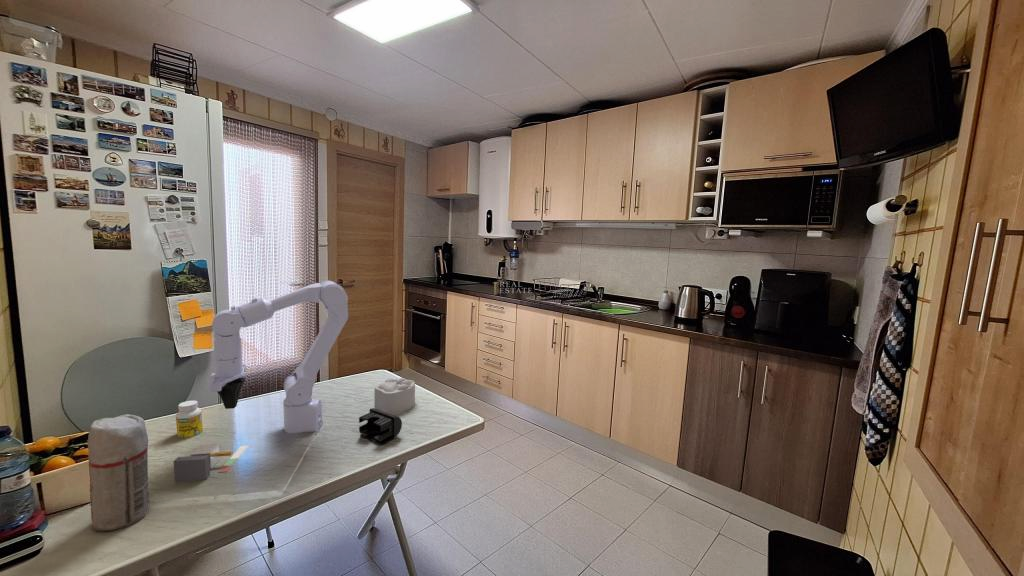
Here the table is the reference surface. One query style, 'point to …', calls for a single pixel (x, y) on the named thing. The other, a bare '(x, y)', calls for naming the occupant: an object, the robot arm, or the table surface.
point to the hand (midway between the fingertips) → (230, 407)
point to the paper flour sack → (118, 471)
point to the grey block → (210, 453)
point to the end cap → (379, 427)
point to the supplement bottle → (189, 419)
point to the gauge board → (200, 466)
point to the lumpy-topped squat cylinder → (395, 395)
